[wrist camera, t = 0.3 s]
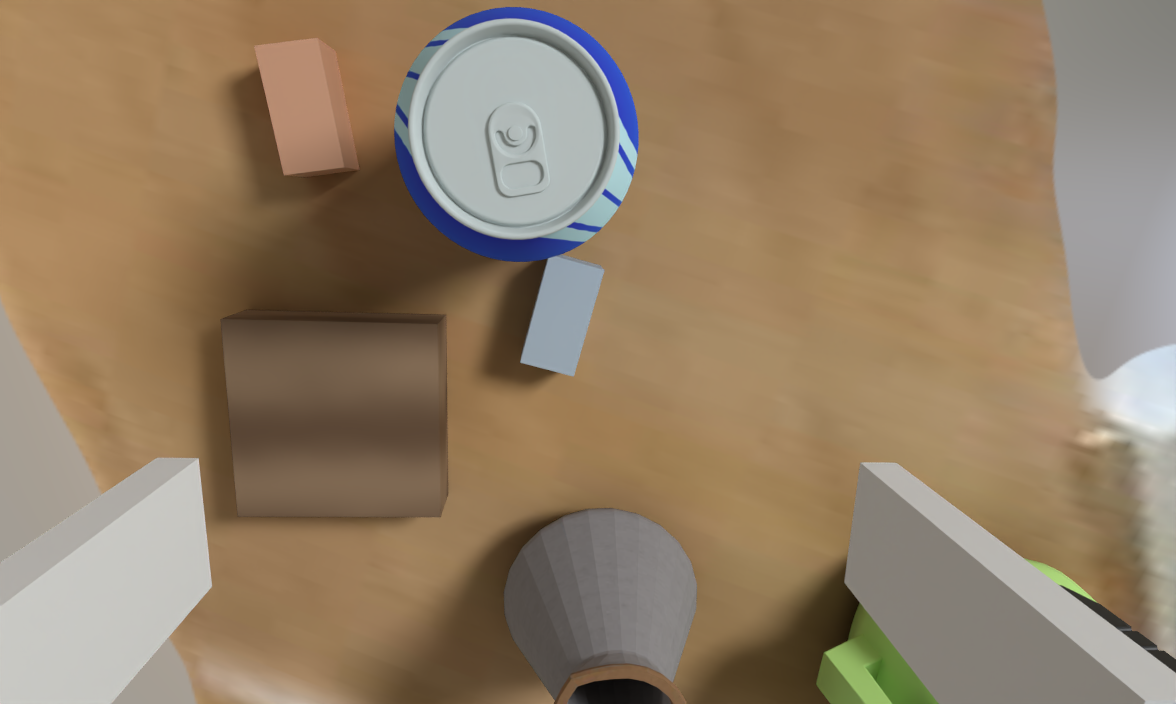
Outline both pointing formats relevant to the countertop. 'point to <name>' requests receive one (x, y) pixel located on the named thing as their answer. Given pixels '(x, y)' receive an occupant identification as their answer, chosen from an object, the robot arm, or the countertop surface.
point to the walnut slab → (337, 413)
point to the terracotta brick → (307, 107)
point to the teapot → (884, 662)
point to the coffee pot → (602, 608)
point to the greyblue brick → (561, 314)
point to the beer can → (516, 134)
